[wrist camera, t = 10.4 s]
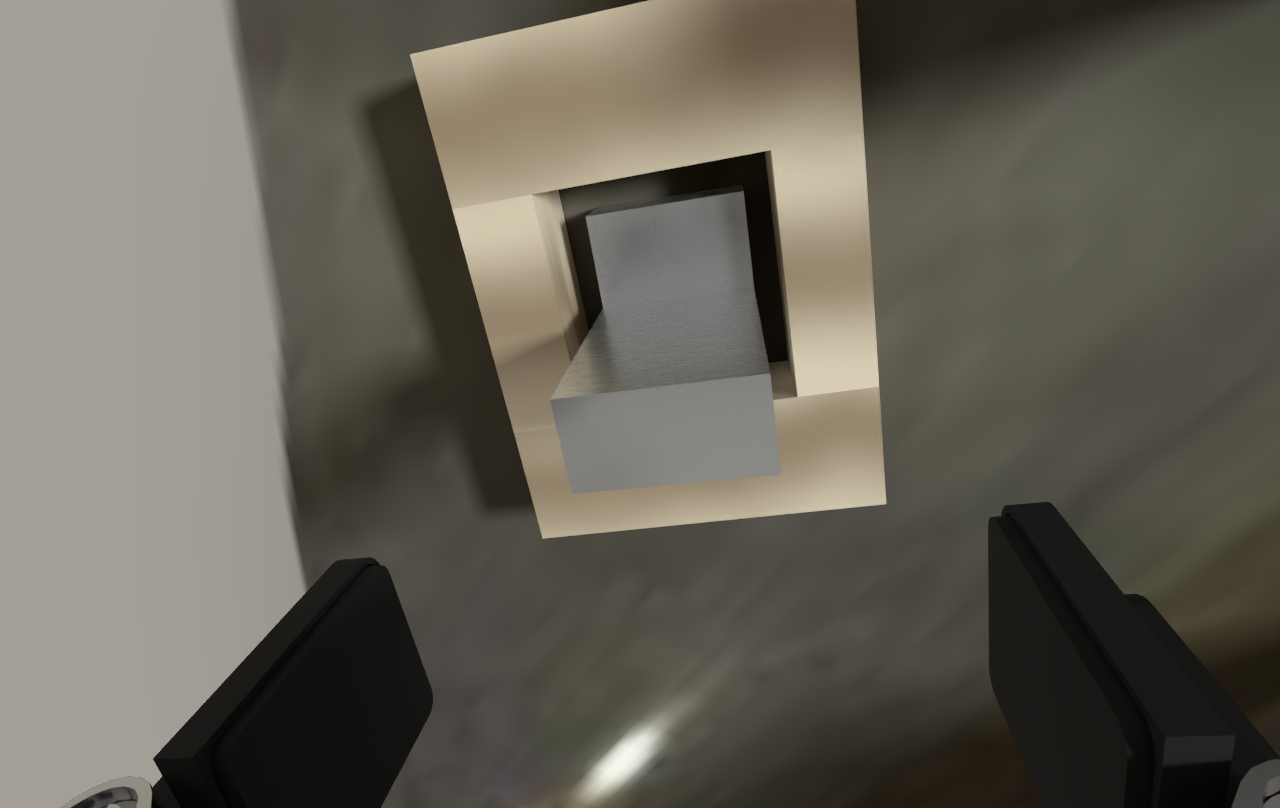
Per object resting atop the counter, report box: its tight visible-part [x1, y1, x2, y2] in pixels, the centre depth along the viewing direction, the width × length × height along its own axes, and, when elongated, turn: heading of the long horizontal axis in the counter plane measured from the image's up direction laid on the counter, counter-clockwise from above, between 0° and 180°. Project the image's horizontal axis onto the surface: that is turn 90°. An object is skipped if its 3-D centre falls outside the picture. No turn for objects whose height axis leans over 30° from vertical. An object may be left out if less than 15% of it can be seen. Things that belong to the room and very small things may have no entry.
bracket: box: [550, 185, 781, 494], centre depth 20 cm, size 6×5×10 cm
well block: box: [410, 0, 886, 538], centre depth 23 cm, size 16×12×4 cm
